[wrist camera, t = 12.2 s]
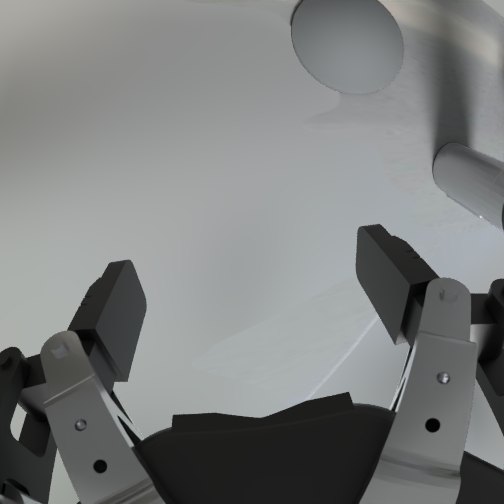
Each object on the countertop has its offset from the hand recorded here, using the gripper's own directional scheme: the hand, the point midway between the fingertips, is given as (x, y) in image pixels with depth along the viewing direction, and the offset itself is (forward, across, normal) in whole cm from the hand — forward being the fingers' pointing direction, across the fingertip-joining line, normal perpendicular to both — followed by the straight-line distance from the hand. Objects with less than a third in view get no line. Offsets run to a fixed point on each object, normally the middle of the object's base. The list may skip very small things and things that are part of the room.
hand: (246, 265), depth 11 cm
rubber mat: (+33, -18, -13) cm, 40 cm away
